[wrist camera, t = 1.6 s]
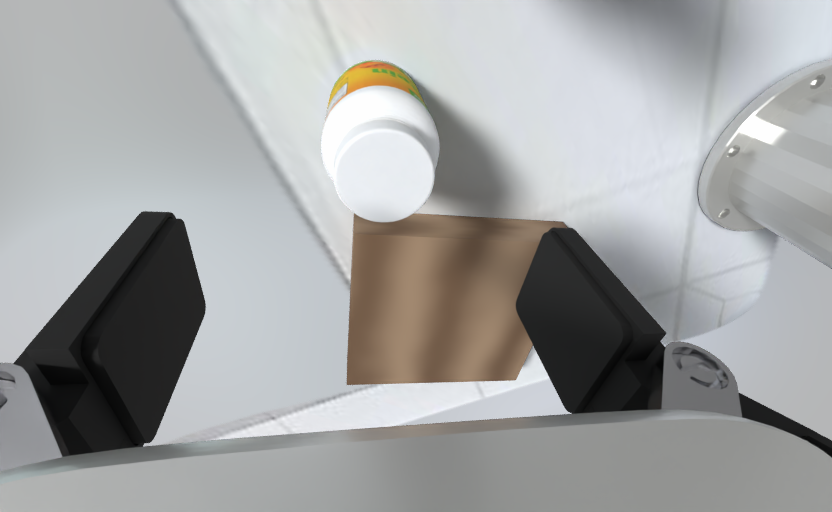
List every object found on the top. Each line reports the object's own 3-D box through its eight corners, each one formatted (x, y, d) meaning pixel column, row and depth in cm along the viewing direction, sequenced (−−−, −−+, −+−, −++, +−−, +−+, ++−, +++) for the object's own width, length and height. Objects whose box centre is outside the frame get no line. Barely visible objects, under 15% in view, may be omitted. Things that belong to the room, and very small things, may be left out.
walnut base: (562, 222, 29) (581, 244, 27) (505, 355, 38) (515, 380, 36) (354, 210, 26) (353, 233, 24) (347, 357, 36) (346, 384, 33)
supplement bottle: (438, 93, 22) (481, 157, 15) (390, 166, 25) (406, 255, 17) (357, 36, 20) (357, 76, 12) (313, 123, 22) (291, 202, 15)
